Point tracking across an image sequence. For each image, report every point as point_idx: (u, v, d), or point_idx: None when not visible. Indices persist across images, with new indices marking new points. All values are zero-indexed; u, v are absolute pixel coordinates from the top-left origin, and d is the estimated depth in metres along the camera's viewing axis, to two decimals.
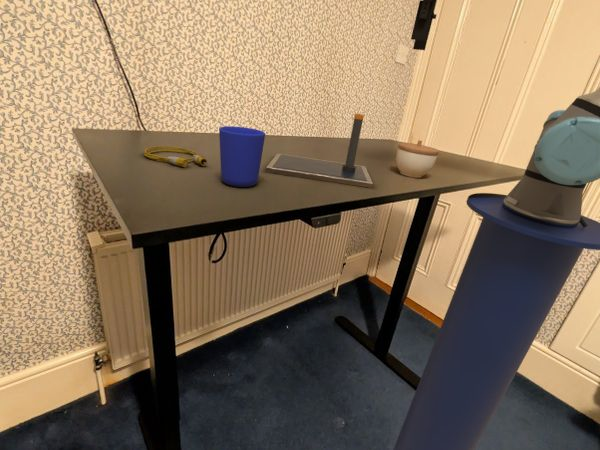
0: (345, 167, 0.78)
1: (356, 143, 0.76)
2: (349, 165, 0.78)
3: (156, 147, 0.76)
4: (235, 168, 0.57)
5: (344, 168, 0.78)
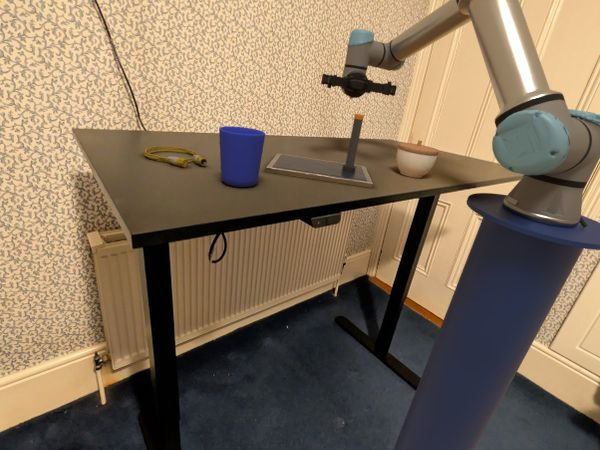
0: (345, 167, 0.78)
1: (356, 143, 0.76)
2: (349, 165, 0.78)
3: (156, 147, 0.76)
4: (235, 168, 0.57)
5: (344, 168, 0.78)
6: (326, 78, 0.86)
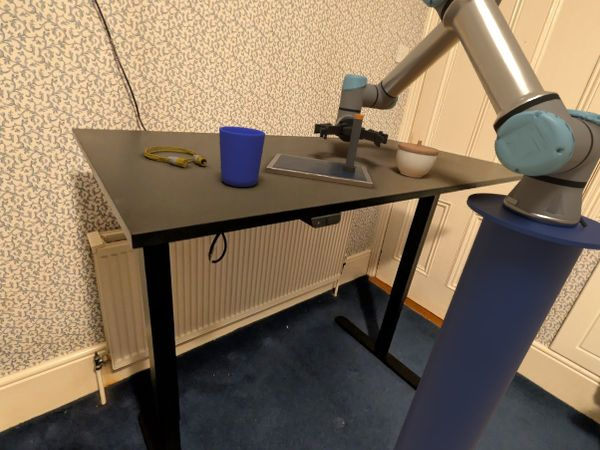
0: (345, 167, 0.78)
1: (356, 143, 0.76)
2: (349, 165, 0.78)
3: (156, 147, 0.76)
4: (235, 168, 0.57)
5: (344, 168, 0.78)
6: (318, 128, 0.88)
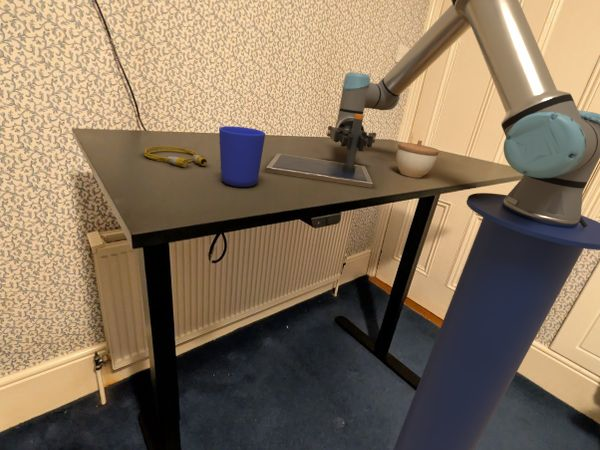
0: (345, 167, 0.78)
1: (356, 143, 0.76)
2: (349, 165, 0.78)
3: (156, 147, 0.76)
4: (235, 168, 0.57)
5: (344, 168, 0.78)
6: (340, 136, 0.78)
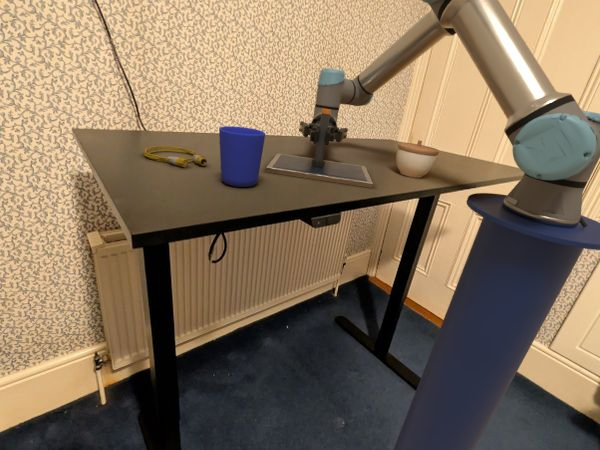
0: (314, 162, 0.78)
1: (324, 138, 0.76)
2: (318, 160, 0.78)
3: (156, 147, 0.76)
4: (235, 168, 0.57)
5: (313, 163, 0.78)
6: (308, 131, 0.78)
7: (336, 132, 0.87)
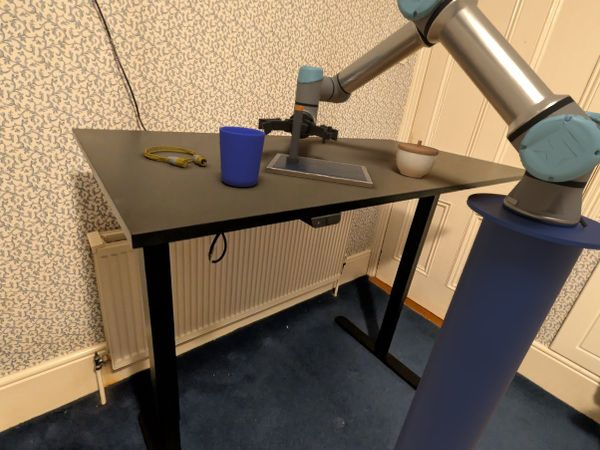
0: (288, 158, 0.78)
1: (297, 134, 0.76)
2: (292, 156, 0.78)
3: (156, 147, 0.76)
4: (235, 168, 0.57)
5: (287, 159, 0.79)
6: (262, 123, 0.80)
7: None
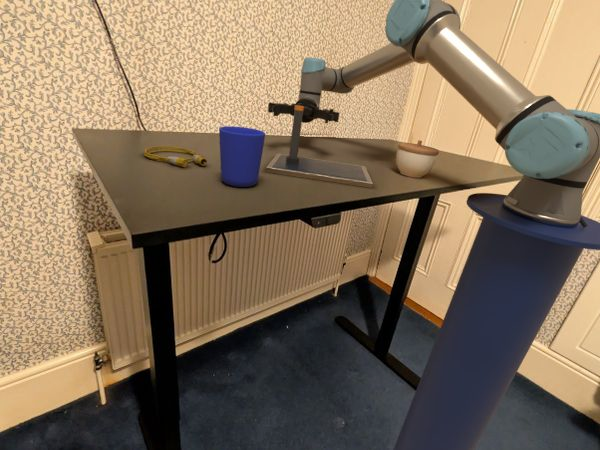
0: (288, 158, 0.78)
1: (297, 134, 0.76)
2: (292, 156, 0.78)
3: (156, 147, 0.76)
4: (235, 168, 0.57)
5: (287, 159, 0.79)
6: (272, 107, 0.91)
7: None
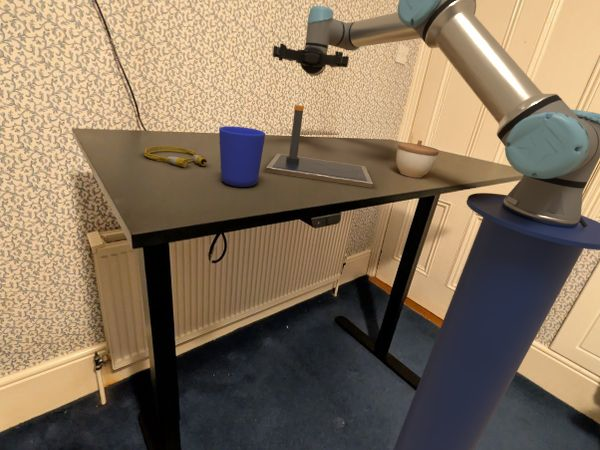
0: (288, 158, 0.78)
1: (297, 134, 0.76)
2: (292, 156, 0.78)
3: (156, 147, 0.76)
4: (235, 168, 0.57)
5: (287, 159, 0.79)
6: (277, 50, 0.85)
7: None
